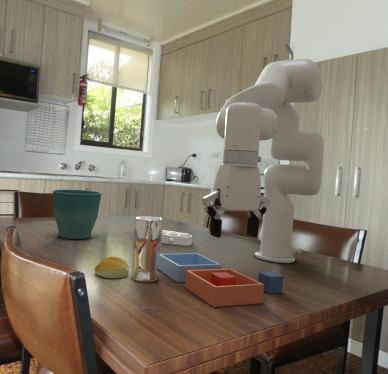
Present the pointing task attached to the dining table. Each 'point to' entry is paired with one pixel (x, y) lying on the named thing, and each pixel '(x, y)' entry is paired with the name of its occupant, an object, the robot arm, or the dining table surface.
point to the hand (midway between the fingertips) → (234, 236)
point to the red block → (222, 279)
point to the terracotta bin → (224, 288)
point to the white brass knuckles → (176, 238)
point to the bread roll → (112, 268)
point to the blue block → (271, 282)
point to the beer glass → (147, 247)
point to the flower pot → (76, 212)
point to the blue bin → (184, 264)
